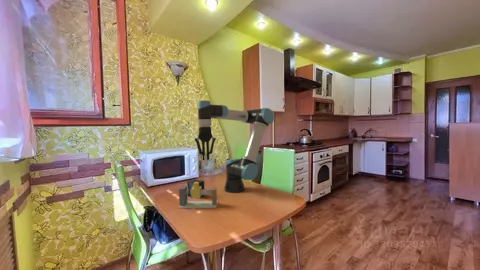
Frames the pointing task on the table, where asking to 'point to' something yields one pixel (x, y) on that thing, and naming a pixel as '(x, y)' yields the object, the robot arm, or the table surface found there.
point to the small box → (191, 184)
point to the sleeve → (195, 190)
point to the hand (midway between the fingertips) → (206, 165)
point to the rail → (197, 204)
